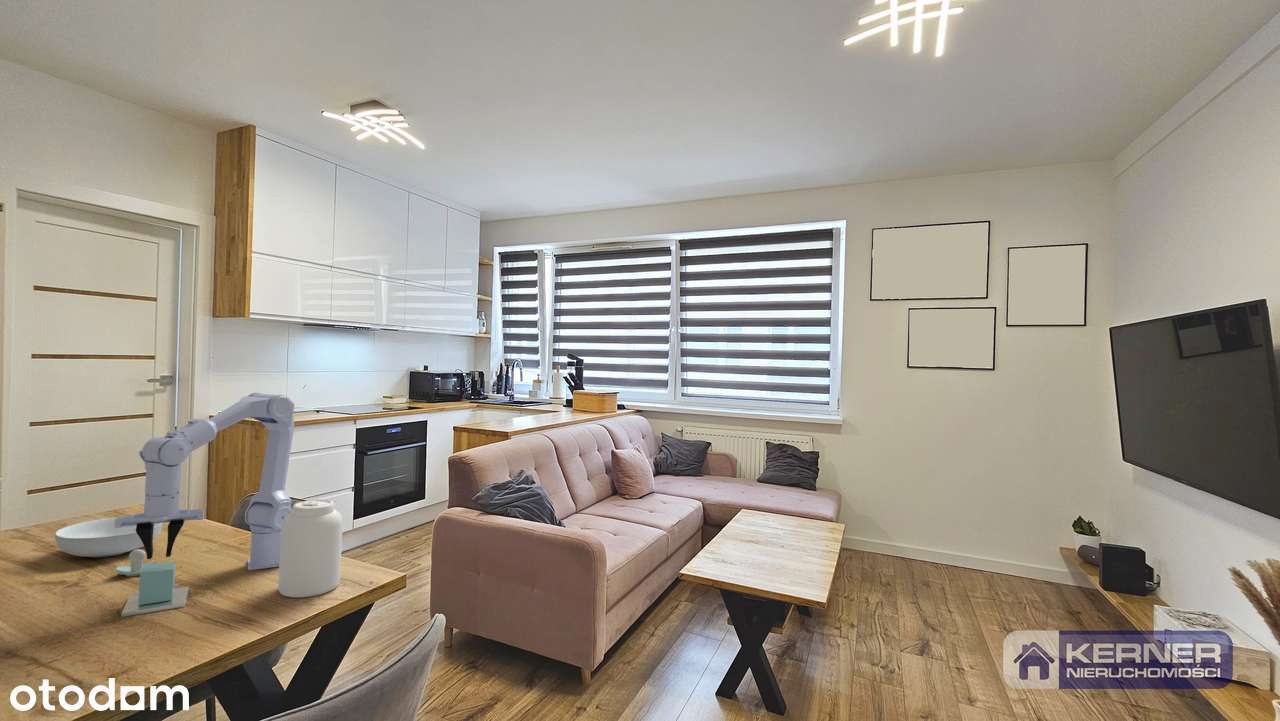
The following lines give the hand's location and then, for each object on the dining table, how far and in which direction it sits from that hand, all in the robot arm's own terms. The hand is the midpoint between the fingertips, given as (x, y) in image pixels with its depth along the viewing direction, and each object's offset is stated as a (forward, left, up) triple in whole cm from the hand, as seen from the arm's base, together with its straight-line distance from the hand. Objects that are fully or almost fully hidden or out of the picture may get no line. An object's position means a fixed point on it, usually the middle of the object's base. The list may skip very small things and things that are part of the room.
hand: (159, 556), depth 121 cm
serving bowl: (+14, -44, -10) cm, 47 cm away
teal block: (0, 0, -9) cm, 9 cm away
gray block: (0, 0, -10) cm, 10 cm away
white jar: (-28, +6, -10) cm, 30 cm away
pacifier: (+6, -23, -10) cm, 26 cm away
